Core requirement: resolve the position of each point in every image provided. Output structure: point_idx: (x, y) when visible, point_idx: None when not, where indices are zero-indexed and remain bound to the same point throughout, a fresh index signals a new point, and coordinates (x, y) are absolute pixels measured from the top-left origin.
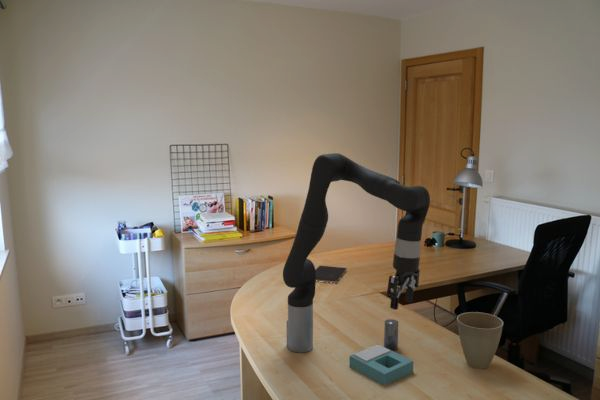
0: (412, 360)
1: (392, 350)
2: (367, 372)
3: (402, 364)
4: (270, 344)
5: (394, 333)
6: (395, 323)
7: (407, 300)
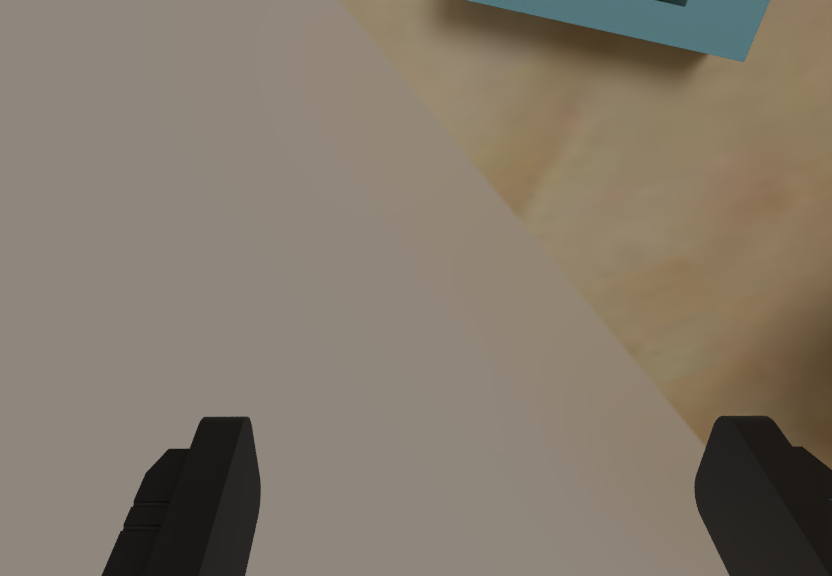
0: (747, 53)
1: None
2: None
3: (655, 27)
4: None
5: None
6: None
7: (720, 460)
